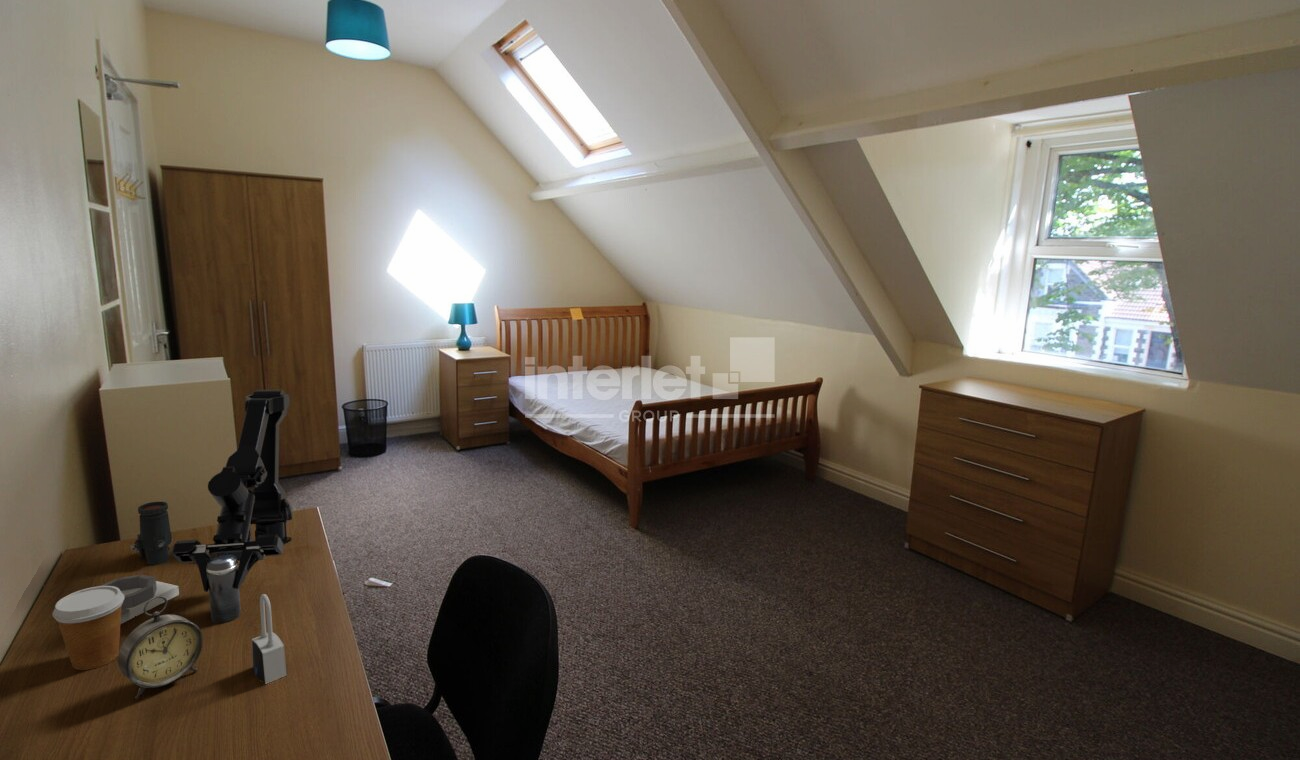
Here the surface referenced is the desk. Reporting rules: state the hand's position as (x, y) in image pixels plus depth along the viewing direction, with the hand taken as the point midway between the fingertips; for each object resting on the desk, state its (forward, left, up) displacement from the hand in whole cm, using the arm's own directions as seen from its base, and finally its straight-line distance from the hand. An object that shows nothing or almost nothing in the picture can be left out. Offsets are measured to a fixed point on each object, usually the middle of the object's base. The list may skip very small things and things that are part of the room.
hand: (221, 589), depth 125 cm
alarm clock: (+18, +7, -7) cm, 20 cm away
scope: (-14, -36, -7) cm, 39 cm away
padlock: (+10, +21, -7) cm, 24 cm away
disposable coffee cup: (+17, -10, -7) cm, 21 cm away
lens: (-1, -1, -7) cm, 7 cm away
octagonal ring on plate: (+3, -22, -7) cm, 23 cm away
